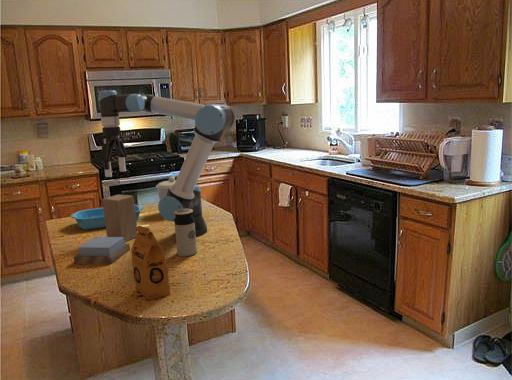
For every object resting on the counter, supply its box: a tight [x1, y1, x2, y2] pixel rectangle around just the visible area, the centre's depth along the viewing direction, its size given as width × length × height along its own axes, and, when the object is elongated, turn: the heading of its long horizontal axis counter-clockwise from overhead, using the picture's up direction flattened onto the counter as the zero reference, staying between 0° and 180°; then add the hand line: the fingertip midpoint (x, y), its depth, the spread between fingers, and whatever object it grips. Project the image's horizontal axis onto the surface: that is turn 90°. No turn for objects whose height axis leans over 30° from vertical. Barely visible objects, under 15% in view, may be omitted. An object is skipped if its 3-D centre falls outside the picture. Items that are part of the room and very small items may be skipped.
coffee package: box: [130, 224, 171, 301], centre depth 136 cm, size 10×12×22 cm
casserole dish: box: [70, 204, 144, 230], centre depth 225 cm, size 37×22×7 cm, turn 112°
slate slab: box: [78, 236, 126, 256], centre depth 173 cm, size 13×13×4 cm
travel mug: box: [173, 209, 198, 257], centre depth 171 cm, size 8×8×18 cm
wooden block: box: [101, 194, 138, 243], centre depth 195 cm, size 10×10×20 cm
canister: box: [155, 175, 176, 201], centre depth 237 cm, size 18×18×21 cm
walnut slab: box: [73, 243, 131, 265], centre depth 174 cm, size 16×16×4 cm
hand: (116, 174), depth 189 cm, fingers open, 13 cm apart
